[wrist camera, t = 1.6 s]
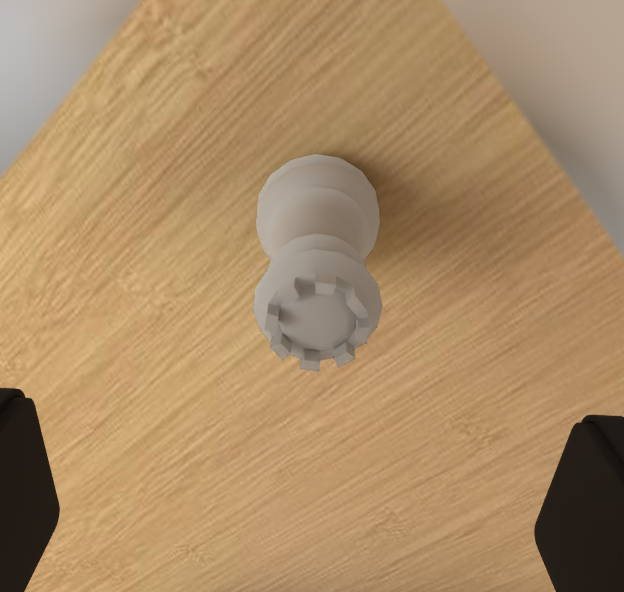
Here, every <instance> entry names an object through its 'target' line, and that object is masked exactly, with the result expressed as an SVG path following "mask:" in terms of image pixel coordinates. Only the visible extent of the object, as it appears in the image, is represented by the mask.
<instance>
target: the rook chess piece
mask: <svg viewBox="0 0 624 592" xmlns="http://www.w3.org/2000/svg"><path fill="white" fill-rule="evenodd" d="M379 214H380V212H379V207H378V202H377V197H376V191H375V189H374V188H373V187H372V185H371V184H370V182H369V181H368V179H367V178H366V176H365V175H364V174H363V172H362V171H361V170H359V169H358V168H356V167H355V166H353V165H351V164H350V163H348V162H346V161H345V160H343V159H342V158H339V157H332V156H326V155H319V154H312V155H308V156H304V157H300V158H296V159H292V160H290V161H288V162H287V163H286V164H284V165H283V166H282V167H280V168H279V169H277V170H276V171H275V172H273V173H272V174H271V175H270V177H269V178H268V180H267V182H266V183H265V185H264V187H263V189H262V190H261V192H260V194H259V197H258V206H257V216H256V219H257V220H256V230H257V233H258V236H259V239H260V242H261V245H262V249H263V251H264V252H265V254H266V255H267V256H268V257H269V258H270V260H271V263H270V264H269V268H268V270H267V271H266V273H265V274H264V276H263V278H262V279H261V281H260V282H259V284H258V285H257V287H256V289H255V298H254V307H253V311H254V314H255V317H256V320H257V323H258V326H259V329H260V331H261V332H262V333H263V334H264V335H265V336H266V338H267V339H268V340H269V341H270V342H271V346H270V347H271V349H272V350H273V351H274V352H275V353H276V354H277V355H278V356H279V357H280V358H281V359H282V360H284V359H285V358H286V357H287V356H288V355H289V354H290V355H292V356H294V357H296V358H300V369H304V370H312V371H319V361H321V360H326V359H331V358H334V360H335V362H336V364H337V366H338V367H341V366H343V365H345V364H346V363H348V362H350V361H351V360H353V359H355V352H354V350H355V349H356V348H358V347H360V346H362V345H363V344H367V340H368V338H369V337H370V335H371V334H372V333H373V332H374V330H375V329H376V328H377V325H378V321H379V317H380V314H381V310H382V302H381V297H380V292H379V287H378V284H377V283H376V281H375V280H374V279H373V277H372V276H371V275H370V273H369V272H368V271H367V269H366V265H365V261H364V260H365V259H366V258H367V256H368V255H369V253H370V252H371V251H372V249H373V248H374V246H375V243H376V239H377V234H378V230H379V226H380V219H379Z"/></svg>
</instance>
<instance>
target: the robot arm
mask: <svg viewBox="0 0 624 592" xmlns="http://www.w3.org/2000/svg"><path fill="white" fill-rule="evenodd" d="M59 512H60V507H59V502H58V498H57V494H56V490H55V485H54V481H53V477H52V473H51V469H50V465H49V461H48V457H47V453H46V449H45V445H44V441H43V437H42V432H41V428H40V424H39V420H38V416H37V412H36V408H35V404H34V402H33V400H32V399H31V398H25V395H24V393H23V392H22V391H21V390H20V389H12V388H0V592H24V591H25V589H26V587H27V585H28V583H29V581H30V579H31V577H32V575H33V573H34V571H35V569H36V567H37V565H38V563H39V561H40V559H41V557H42V555H43V553H44V550H45V548H46V546H47V544H48V542H49V540H50V538H51V536H52V534H53V532H54V530H55V528H56V526H57V523H58V519H59ZM534 533H535V541H536V545H537V548H538V550H539V552H540V555H541V557H542V560H543V562H544V564H545V567H546V569H547V571H548V574H549V576H550V579H551V581H552V583H553V586H554V588H555V590H556V592H624V417H622V416H606V415H587V416H586V417H585V418H584V419H583V420H582V422H581V423H576V424H575V425H574V426H573V428H572V430H571V433H570V435H569V438H568V441H567V443H566V446H565V448H564V451H563V454H562V456H561V459H560V461H559V464H558V467H557V469H556V472H555V474H554V477H553V480H552V482H551V485H550V487H549V490H548V493H547V495H546V498H545V500H544V503H543V506H542V508H541V511H540V513H539V516H538V518H537V521H536V524H535V531H534Z"/></svg>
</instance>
